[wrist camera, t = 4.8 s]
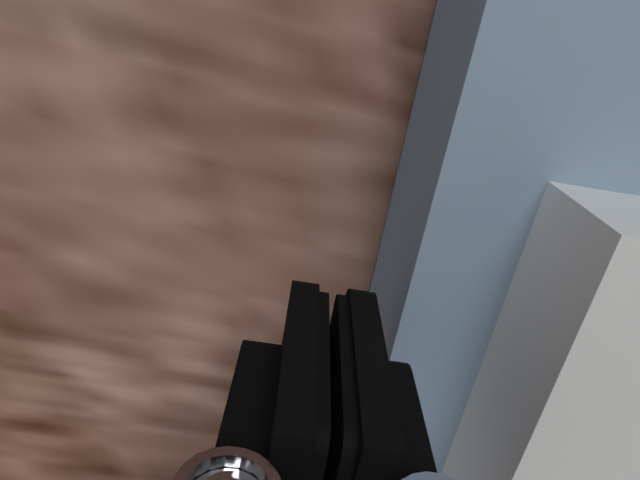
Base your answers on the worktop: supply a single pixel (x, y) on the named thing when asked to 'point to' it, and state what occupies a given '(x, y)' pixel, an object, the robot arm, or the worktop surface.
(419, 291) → the plate
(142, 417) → the worktop surface
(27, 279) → the worktop surface
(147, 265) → the worktop surface
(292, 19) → the worktop surface
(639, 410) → the tile
